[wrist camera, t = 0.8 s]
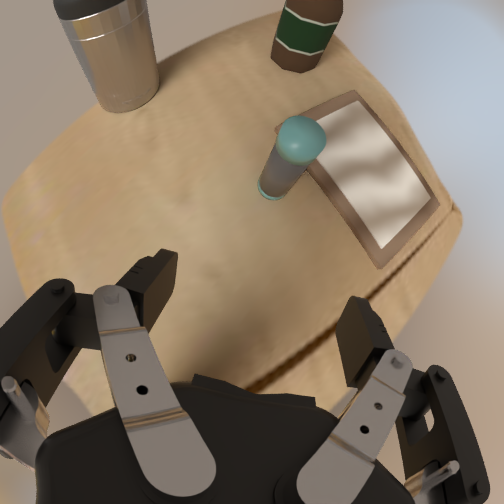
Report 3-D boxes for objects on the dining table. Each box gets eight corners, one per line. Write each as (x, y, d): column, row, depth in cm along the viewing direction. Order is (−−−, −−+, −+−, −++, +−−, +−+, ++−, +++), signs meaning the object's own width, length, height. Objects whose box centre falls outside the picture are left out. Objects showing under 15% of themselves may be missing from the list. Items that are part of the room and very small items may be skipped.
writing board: (274, 130, 33) (276, 125, 32) (351, 93, 36) (354, 88, 35) (377, 269, 33) (383, 268, 32) (436, 206, 36) (441, 204, 35)
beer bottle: (259, 59, 35) (297, -72, 11) (281, 38, 36) (322, -74, 13) (304, 81, 35) (369, -45, 12) (322, 59, 37) (381, -49, 13)
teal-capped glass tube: (250, 181, 32) (271, 127, 20) (275, 165, 33) (305, 109, 21) (270, 207, 32) (302, 163, 20) (294, 190, 33) (335, 143, 21)
